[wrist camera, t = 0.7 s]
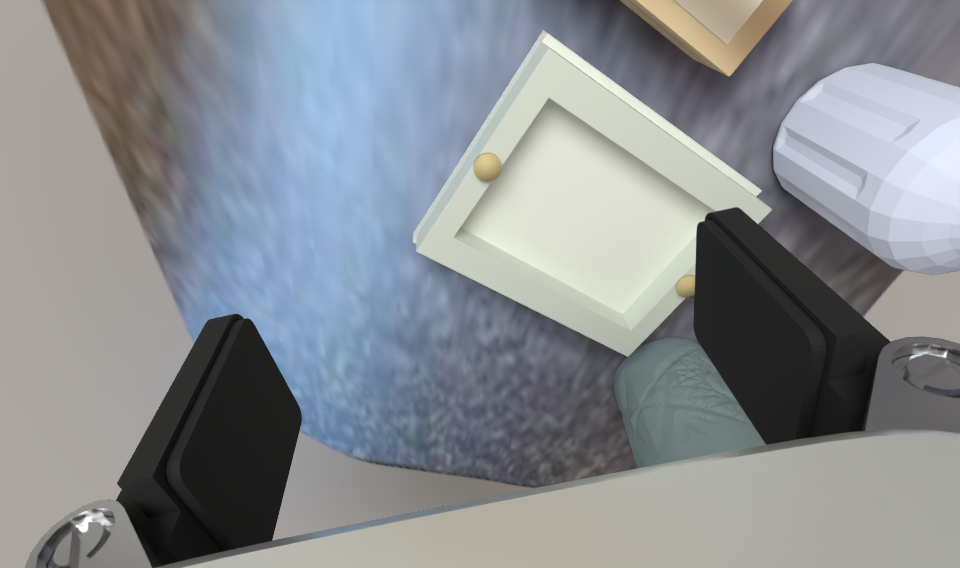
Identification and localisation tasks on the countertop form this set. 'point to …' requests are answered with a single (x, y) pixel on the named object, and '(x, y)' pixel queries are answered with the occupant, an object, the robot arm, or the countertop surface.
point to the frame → (711, 26)
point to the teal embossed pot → (678, 404)
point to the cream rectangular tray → (581, 202)
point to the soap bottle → (879, 163)
